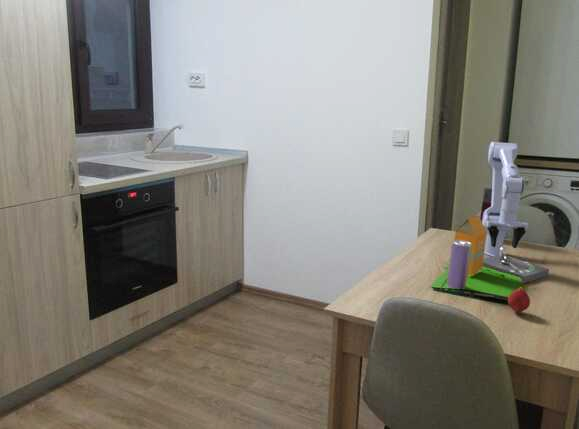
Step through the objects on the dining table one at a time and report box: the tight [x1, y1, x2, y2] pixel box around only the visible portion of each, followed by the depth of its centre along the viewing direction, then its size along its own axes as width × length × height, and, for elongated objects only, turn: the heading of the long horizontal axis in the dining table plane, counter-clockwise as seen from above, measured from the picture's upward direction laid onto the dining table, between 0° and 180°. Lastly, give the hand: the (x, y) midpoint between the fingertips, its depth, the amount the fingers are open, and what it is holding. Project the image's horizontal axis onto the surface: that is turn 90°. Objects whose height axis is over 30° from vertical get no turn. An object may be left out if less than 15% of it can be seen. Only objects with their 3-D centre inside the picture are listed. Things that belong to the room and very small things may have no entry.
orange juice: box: [454, 214, 487, 275], centre depth 184 cm, size 8×9×20 cm
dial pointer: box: [499, 246, 518, 270], centre depth 188 cm, size 14×4×4 cm, turn 1°
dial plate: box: [482, 254, 550, 284], centre depth 189 cm, size 19×16×3 cm
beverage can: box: [446, 239, 472, 291], centre depth 169 cm, size 6×6×15 cm
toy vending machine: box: [479, 183, 492, 221], centre depth 226 cm, size 9×11×28 cm
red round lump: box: [507, 286, 531, 314], centre depth 152 cm, size 6×6×8 cm
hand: (503, 246), depth 193 cm, fingers open, 7 cm apart
